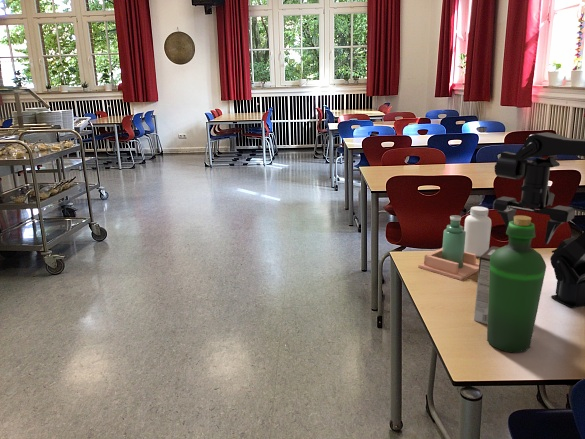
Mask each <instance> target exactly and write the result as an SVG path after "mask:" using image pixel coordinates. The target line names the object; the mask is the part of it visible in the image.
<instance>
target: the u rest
mask: <svg viewBox="0 0 585 439" xmlns="http://www.w3.org/2000/svg"><path fill="white" fill-rule="evenodd" d="M442 248H443V247H441V248H439V249H437V250H434V251H432V252H429V253H427V254H425V255H424V261H423V262H422V263H420V264H418V268H419V269H423V270H425V271H429V272H432V273H436V274H439V275H443V276H445V277H448V278H452V279H456V280H460V281H463V280H465V279H466V278H468V277H470V276H472V275H473V274H475V273H478V272H479V262H477V256H476V254H473V253H469V252H465V251H464V261H463V267H462V268H459V269H458V266H459V263H456V262H452V261H448V260H445V259H442Z"/></svg>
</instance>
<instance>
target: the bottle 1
mask: <svg viewBox="0 0 585 439" xmlns="http://www.w3.org/2000/svg"><path fill="white" fill-rule="evenodd" d="M449 219H450V224H447V225H446V228H445V229H444V230H443V235H442V236H443V237H442V247H441V248H442V259H445V260H448V261H452V262H456V263H459V266H458V269H459V268H462V267H463V261H464V249H465V236H466V232H465V231H464V226H463V225H461V221H462V216H461V215H456V214H455V215H450V216H449Z"/></svg>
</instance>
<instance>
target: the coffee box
mask: <svg viewBox="0 0 585 439" xmlns="http://www.w3.org/2000/svg"><path fill="white" fill-rule="evenodd" d="M499 248H501V247H499V246H495V245H494V246H493V245H491V247H489V249H488V250H487V251H486V252H485V253H484V254H483V255H481V256H480V257H479V262H478V263H479V271H477V273H478V274H477V284H476V294H475V295H476V297H475V306H474V316H473V321H475V322H478V323H482V324H484V325H488V299H489V273H490V256H491V255H492V254H493V253H494V251H495V250H497V249H499Z"/></svg>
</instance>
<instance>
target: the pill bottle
mask: <svg viewBox="0 0 585 439" xmlns="http://www.w3.org/2000/svg"><path fill="white" fill-rule="evenodd" d="M469 211H470V212H469V214H470V215H467V216H466V217H465V219H464V226H463V230H464V231H465V232H466V236H465V249H464V251H465V252H469V253H473V254H476V258H477V257H479V258H480V256H481V255H483V254H484V253H485V252H486V251H487V250H488V249H489V248H490V242H491V241H490V240H491V230H492V219H491V218H490V217H489V208H488V207H484V206H476V205H475V206H472V207H470V210H469Z"/></svg>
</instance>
